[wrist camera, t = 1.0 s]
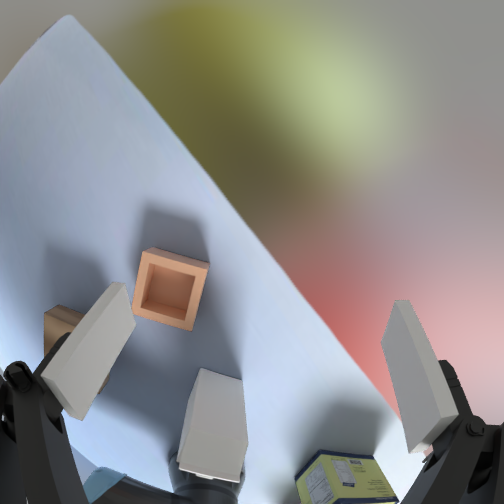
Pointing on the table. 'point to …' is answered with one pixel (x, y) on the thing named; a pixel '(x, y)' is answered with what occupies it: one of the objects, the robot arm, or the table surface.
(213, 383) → the milk carton
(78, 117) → the table surface
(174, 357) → the table surface
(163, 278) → the open square box
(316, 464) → the protein box
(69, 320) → the brown box
